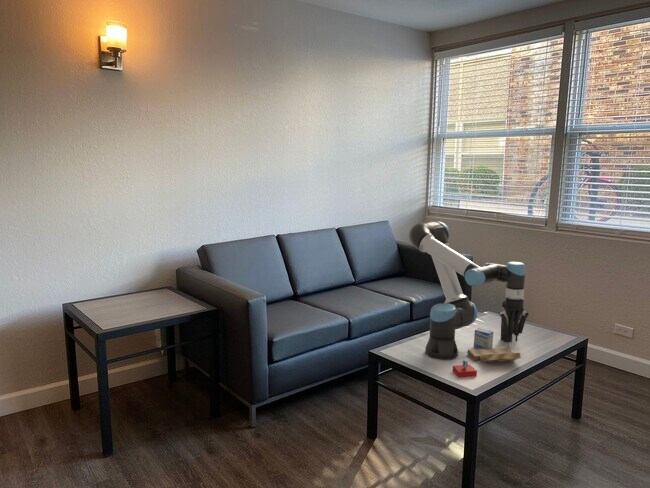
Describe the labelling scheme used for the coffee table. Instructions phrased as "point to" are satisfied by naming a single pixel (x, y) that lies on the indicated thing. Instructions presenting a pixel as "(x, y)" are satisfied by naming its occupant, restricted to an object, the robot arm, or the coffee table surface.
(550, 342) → the coffee table surface
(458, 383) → the coffee table surface
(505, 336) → the travel mug
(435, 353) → the robot arm
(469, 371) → the red rectangular block
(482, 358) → the plank
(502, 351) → the laid strip
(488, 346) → the medicine box
